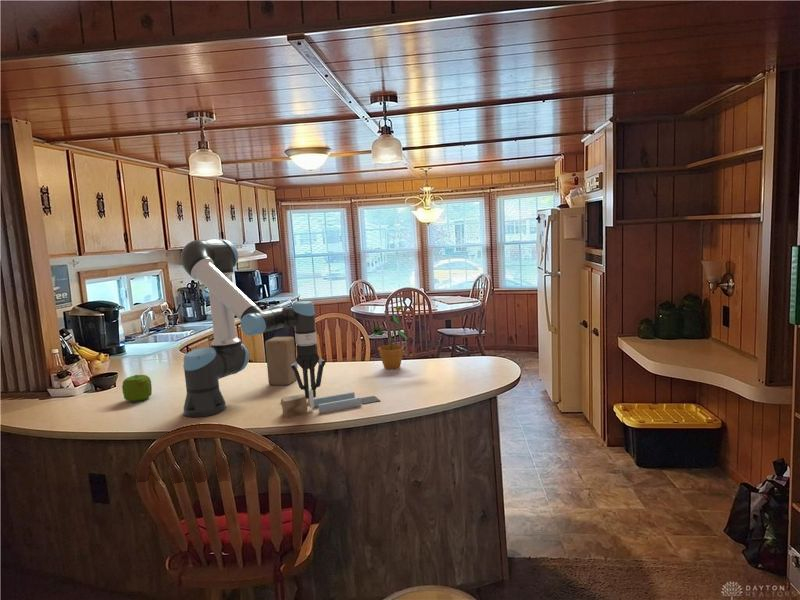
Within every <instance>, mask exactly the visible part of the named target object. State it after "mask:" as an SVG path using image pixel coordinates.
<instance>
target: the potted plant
mask: <svg viewBox="0 0 800 600" xmlns="http://www.w3.org/2000/svg"><path fill="white" fill-rule="evenodd" d="M407 307H408V306H402V305H401V306H399V305H398V306H391V307H390V309H395V310H397V311H398V313H397V317H396V316H395V315H393V316H392V317H391V319H390V320H389V321H390V322H392V323H395V325H394V328H393V330H392V333H391V335H390V334H389V333H387V331H386V330H385V326H373V329H374V330H373V331H372V332H371V335H377V336H381V337H382V336H383V335H384V334H386V335H388V337H389V338H390V343H389V344H385V345H380V346H379V347H378V348H377V350H378V352H379V355H380V359H381V362H382V364H383V368H384V369H385V370H387V369H394V370H397V369H396V368H398V369H400V368H401V364H402V360H403V355H404V350H405V346H404V345H403V344H395V343H393V337H394V333H395V332H397V335H398V336H400V337H402V338H403V339H406V340H408V335H407V333H405V332H403V331H401V330H399V328H397V327H399V326H400V325H399V324H400V323H401V321H400V320H399V316H400V311H401V310H402V309H403V308H404V309H405V308H407ZM396 326H397V327H396ZM382 328H383V330H381V329H382ZM396 328H397V329H396ZM399 367H400V368H399Z"/></svg>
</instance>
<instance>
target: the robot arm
mask: <svg viewBox="0 0 800 600" xmlns="http://www.w3.org/2000/svg"><path fill="white" fill-rule="evenodd" d="M180 262H181V265H182V267H183V269H184V271H185V272H186V273H187V275H189V276H190V278H192V279H193V280H198V281H200V283H201V284H203V285H204V286H205V287H206V289H207V290H208V294H209V295H208V296H209V305H210V313H211V314H210V315H211V321H212V322H211V323H212V331H213V339H212V341H211V342H210V346H209V347H205V346H204V347H201V348H196V349H192V350H190V351H189V352H187V353H186V354H185V355H184V356H183V371H184V378H185V388H186V396H185V399H184V404H183V415H184V416H185V417H189V418H202V417H203V418H204V417H210V416H213V415H217V414H219V413H221V412H224V411H225V410H226V408H227V405H226V401H225V398H224V395H223V394H222V392H221V390H220V384H219V381H220V379H223V378H226V377H228V376H232V375H236V374H238V373H239V372H242V371H243V370H244V369H245V368H246V367H247V366H248V363H249V359H250V353H249V351H248V348H247V347H246V346H245V344H243V343H242V340H241V339H240V338H239V337H238V336H237V329H236V328H237V327H236V326H237V325H236V320H235V317H236V318H237V319H239V320H240V328H241V329H242V331H243V333H244V334H246V335H247V336H256V335H262V334H264V333H267V332H271V331H274V330H275V331H276V330H278V329H281V328H282V329H284V328H294V331H295V332H294V335H295V337H294V339H295V344H296V346H295V348H296V349H295V351H296V357H295V358H296V362H295V363H293V364H291V365H290V367H291V368H292V369H293V370H294V373H295V376H296V381H297V384H298V387H299V388H300V389H299V390H303V391H304V395H305V397H306V399H308V405H307V406H308V407H309V408H310V409H312V408H313V409H314V408H315V407H314V398H317V391H316V390H317V388H320V387H321V385H322V384H321V383H322V377H323V373H324V371H323V370H324V366H325V365H326V363H327V362H326V360H324V359H321V358H320V356H319V352H318V344H317V342H318V340H317V329H316V312H315V305H314V303H313V302H312V301H309V300H303V301H302V300H301V301H295V302H293V303H292V306H280V305H277V306H271V307H269V308H267V309H265V310H262V309H261V308H260V306H258V305H257V304H256V303H255V302H253V301H252V299H250V298H249V297H248V296H247V295H246V294H245V293H244V292H243V291H242V290H241V289H240V288H238V286H236V285H235V283H234V282H233V281H231V277H232V275H234V273H235V272H234V268H235V266H237V264H238V262H239V252H238V250H237V248H236V245H235V244H233V243H232V241H230V240H228V239H222V238H216V239H214V238H213V239H196V240H192V241H190V242H188V243H187V244H186V245H185V246H184V247H183V248H182V251H181V254H180ZM317 364H318V367H317V373H316V372H315V370H316V369H315V367H316V366H317ZM298 366H299V367H300V368H301V369H302V376H303V377H302V378H303V382H302V378H301V375H300V373H299V370H298V368H299V367H298ZM308 371H309V373H308ZM315 373H316V374H315ZM308 374H309V375H308ZM309 378H310V386H309Z"/></svg>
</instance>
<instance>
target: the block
mask: <svg viewBox="0 0 800 600" xmlns="http://www.w3.org/2000/svg"><path fill="white" fill-rule="evenodd" d="M304 395H305V394H303V393H301V394H297V395H290V396H285V397H281V399H282V402H281V407H282V415H283V416H284V418H285V417H287V418H292V417H297V416H296V415H298V416H303V415H308V414H307V413H308V405H307V401H306V397H305V396H304ZM302 414H303V415H302ZM291 416H292V417H291Z"/></svg>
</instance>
